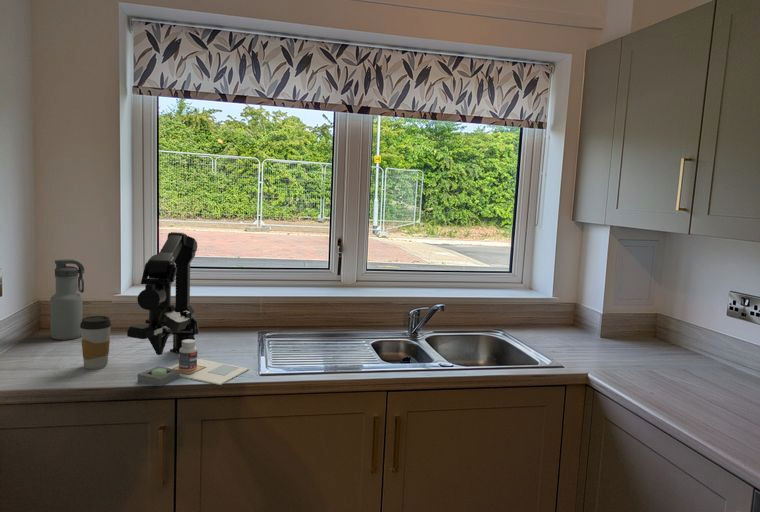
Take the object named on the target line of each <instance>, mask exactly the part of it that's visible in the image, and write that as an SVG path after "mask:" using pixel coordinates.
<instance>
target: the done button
mask: <svg viewBox="0 0 760 512" xmlns="http://www.w3.org/2000/svg"><path fill="white" fill-rule="evenodd" d="M166 372H167V370H166V369H163V368H158V369H154V370H152V375H155V376H162V375H164V374H166Z"/></svg>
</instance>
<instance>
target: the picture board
mask: <svg viewBox="0 0 760 512" xmlns="http://www.w3.org/2000/svg"><path fill="white" fill-rule="evenodd" d="M167 368H170V369H175V370H179V362H178V363H175V364H173V365H170V366H169V367H167ZM247 370H248V371H249V370H250V368H249V367H244V366H237V365H233V364H228V363H224V362H223V363H222V362H218V361H213V360H206V359H201V358H197V368H196V369H195V370H192V371H181V370H180V378H184V379H189V380H193V381H198V382H203V383H208V384H214V385H218V386H222V385H223V384H225V383H227V382H229V381H231V380H233V379H234V377H235V378H237V377H238V376H240V375H242V374H244V373H245V371H246V372H247ZM236 376H237V377H236ZM232 378H233V379H232Z"/></svg>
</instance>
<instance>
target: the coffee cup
mask: <svg viewBox="0 0 760 512" xmlns="http://www.w3.org/2000/svg"><path fill="white" fill-rule="evenodd" d="M80 324H81V325H80V328H81V348H82V349H81V350H82V359H83V367H84V368H85V369H86V370H99V369H103V368H106V367H107V366H108V363H109V362H108V361H109V354H110V353H109V352H110V342H111V341H110V338H111V337H110V336H111V326H112V322H111V320H110V317H109V316H106V315H93V316H92V315H91V316H86V317H82V322H81V323H80Z"/></svg>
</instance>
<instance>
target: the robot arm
mask: <svg viewBox="0 0 760 512" xmlns="http://www.w3.org/2000/svg"><path fill="white" fill-rule="evenodd" d="M197 251H198V242H197V240H196V239H195V238H194V237H192V236H189V235H187V234H186V233H184V232H178V231H177V232H173V231H172V232H168V234H167V239H166V241H165V242H164V244H163V246H162V247H161V249H160V251H159V253H155V254H153V255H152V256H151V257H149V259H148V260H147V262H146V263H145V264H144V269H143V272H142V277H141V280H140V285H145V286H144V287H145V289H143V290H141V291H140V292H139V294H138V296H137V300H136V301H137V303H138V306H139V307H140V308H141V309H144V310H146V311H148V318H147V319H145V324H141V323H137V324H135V325H131V326H129V327H128V328H126V329H127V330H126V332H127V333H126V334H127V335H126V336H127V337H128V338H133V339H139V340H146V339H147V340H148V341H149V343H150V344H151V346H152V348H153V349H154V352H155V353H156V355H157V356H161V355H162V354H163V352H164V348H165V347H166V344H167V341H168V339H169V337H170V336H171V335H173V336H172V348H171V349H169V352H172V353H177V354H179V350H180V348H181V347H182V341H183V340H186V339H192V340H195V339H196V338H195V335H199V324H198V321H197V318H196V315H195V310H194V309H193V307H192V305H191V303H190V302H191V299H190V298H191V297H190V295H191V288H190V287H191V262H192V261H193V259H194V258H195V256H196V252H197ZM174 282H175V302H174V303H175V305H172V304H171V301H172V300H171V299H172V298H171V297H172V284H173V283H174ZM195 341H196V340H195ZM194 347H196V345H195V346H194Z"/></svg>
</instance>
